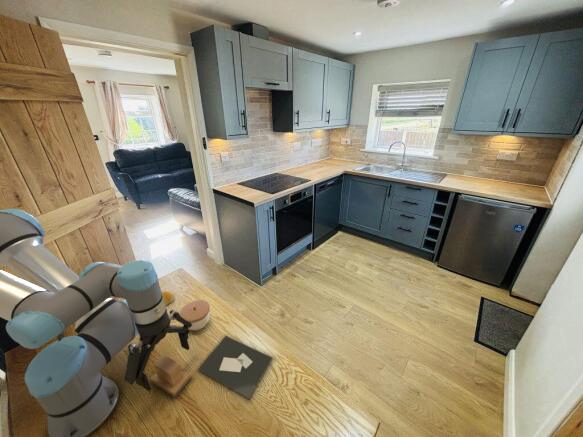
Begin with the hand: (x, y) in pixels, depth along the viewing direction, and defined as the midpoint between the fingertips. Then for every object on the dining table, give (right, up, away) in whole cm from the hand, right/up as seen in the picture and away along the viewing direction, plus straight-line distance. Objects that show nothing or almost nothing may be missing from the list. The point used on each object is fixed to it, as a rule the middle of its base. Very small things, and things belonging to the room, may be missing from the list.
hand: (167, 366), depth 71 cm
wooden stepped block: (0, -7, +3) cm, 7 cm away
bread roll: (-20, +7, +34) cm, 40 cm away
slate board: (+19, -4, +8) cm, 21 cm away
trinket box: (0, +2, +23) cm, 23 cm away
